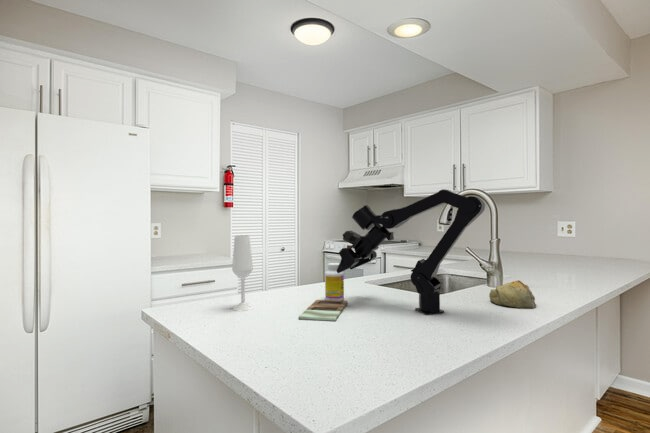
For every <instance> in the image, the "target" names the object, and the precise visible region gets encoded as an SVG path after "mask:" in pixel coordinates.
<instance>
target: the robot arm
mask: <svg viewBox="0 0 650 433" xmlns="http://www.w3.org/2000/svg"><path fill="white" fill-rule="evenodd" d="M445 204H447V205H449V206H452V207H453V208H456V209H457V211H456V213H455V216H454V219H453V221H452V223H451V224H450V226H449V227H448V229H447V230H446V232H445V233H444V234H443V235H442V237H441V238H440V240H439V242H438V243H437V244H436V246H435V247H434V249H433V250H432V252H431V253H430V254H429V255H428V257H427V258H421V259H419V260H418V261H417V262H416V264H415V265H414V268H412V269H411V270H410V272H411V274H410V281H411V283H412V284H413V286H414V287H415V290H416V292H417V294H418V307H415V311H416V312H417V311H418V312H420V313H422V314H424V315H436V314H444V313H445V310H442V309H441V298H440V295H441V293H440V290H441V288H442V286H443V283H442V282H441V281H440V280H439V279H438V278H437V277H436V276H437V275H438V273H439V269H440V266H441V263H442V262H443V261H444V259H445V258H446V256H447V255H448V254H449V253H450V252H451V250H452V248H453V247H454V245H456V243H457V242H458V240H459V239H460V238H461V236H462V235H463V233H464V231H465V230H466V229H467V228H468V227H469V226H470V225H471V224H472V223H473V222H474V221H475V220H476V219H478V218H479V217H480V216H481V215H482V214H483V213H484V212H485V209H486V206H485V202H484V200H483V198H481V197H478V196H473V195H472V196H471V195H470V196H464V195H462V194H459V193H456V192H452V191H451V190H449V189H445V188H444V189H440V190H438V191H437V192H435V193H433V194H431V195H428V196H426V197H423V198H422V199H420V200H418V201H415V202H413V203H410V204H408V205H407V206H403V207H399V208H394V209H390V210H386V211H384V212H382V213H381V214H378V215H377V214H376V213H374V211H373V210H372V209H371V207H370V206H369V205H367V204H365V205H363V207H361V208H359V209H357V211H355V212H354V213H353V214H352V216H351V218H352V219H353V221H354V222H355V223H356V224H357V225H358V226H359V228H361V230H363V231H365V230H367V233H366V234H365V235H361V234H359V233H357V232H355V231H353V230H345V231H344V233H343V234H342V240H343V241H344V242H348V243H349V244H351V247H343V248H341V249H339V251H338V254H339V256H340V258H341V260H340V262H339V263H340V264H339V266H338V268H337V270H336V271H337V273H340V272H344V271H346V270H349V269H350V270H353V269H356V268H359V267H361V266H363V265H365V264H368V263H370V262H372V261H375V259H376V258H377V252H376V251H378V249H380V247H379V246H380V245H381V244H382V243H383V242H384V241H385V240H386V239H387V240H388V241H389V242H390V241H394V239H395V237H394V233H395V232H394V231H389V230H391V229H398V228H400V227H401V226H403V225H404V224H407V223H408V222H409V221H410V220H411V219H413V217H416V216H419V215H421V214H424V213H426V212H428V211H430V210H433V209H435V208H437V207H440V206H442V205H445Z"/></svg>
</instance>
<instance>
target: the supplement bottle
mask: <svg viewBox="0 0 650 433" xmlns="http://www.w3.org/2000/svg"><path fill="white" fill-rule="evenodd" d="M339 264H340V262H331V263H330V262H329V263H327V268H328V269H327V271H325V274H324V289H325V290H324V292H325V293H324V296H325V299H324V300H336V301H344V299H345V297H344V296H345V292H344V291H345V286H344V285H345V283H344V282H345V281H344V277H345V276H344V271H342V272H340V273H337V271H336V270H337V268H338V266H339Z"/></svg>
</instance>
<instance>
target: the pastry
mask: <svg viewBox="0 0 650 433" xmlns="http://www.w3.org/2000/svg"><path fill="white" fill-rule="evenodd" d="M488 294H489V296H488V297H489V299H490V302H492V303H493V304H496V305H497V306H498V305H499V306H503V307H509V308H510V307H511V308H512V307H513V308H516V309H535V308H536V306H537V304H536V302H535V300H536V297H535V295H534V294H533V292H532V291H531V289H530V287H529V286H528V284H526V283H523V282H522V281H521V280H515V281H511V282H510V281H509V282H507V283H505V284H501V285H498V286H496V288H495V289H490V292H489V293H488Z"/></svg>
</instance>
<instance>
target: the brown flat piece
mask: <svg viewBox="0 0 650 433" xmlns="http://www.w3.org/2000/svg"><path fill="white" fill-rule="evenodd" d="M348 303H349V302H348V300H341V301H336V300H326V299H315V301H314V302H313V303H311V304H310V306H308V307H307V308H306V309H305V310H304V311H303V312H302V313H301V314H299V316H298V320H303V321H304V320H305V321H323V322H325V321H326V322H336V321H337V320H338V318H339V317H340V316H341V315H342V314H341V313H343V311H344V310H345V308H346V306H347V305H348Z"/></svg>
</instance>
